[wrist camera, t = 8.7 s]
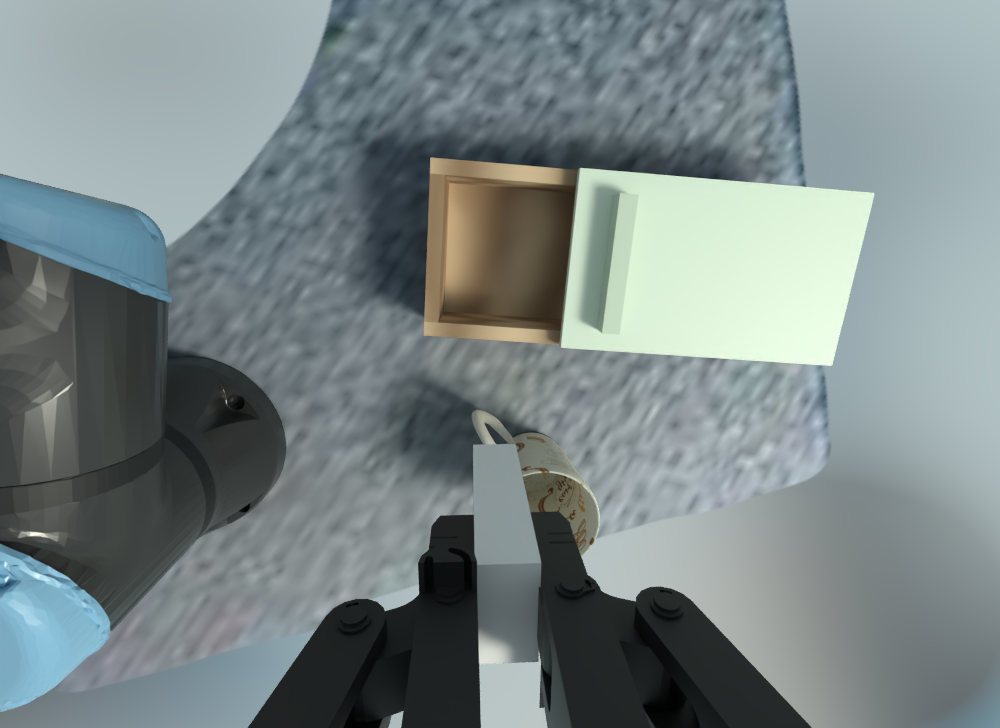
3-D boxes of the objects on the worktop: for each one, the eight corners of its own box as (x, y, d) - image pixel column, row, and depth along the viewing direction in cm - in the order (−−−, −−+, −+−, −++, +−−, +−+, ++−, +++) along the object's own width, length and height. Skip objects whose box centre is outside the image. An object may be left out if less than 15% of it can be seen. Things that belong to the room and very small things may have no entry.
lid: (559, 345, 36) (564, 352, 34) (577, 169, 33) (585, 164, 31) (824, 363, 37) (847, 371, 35) (865, 194, 34) (894, 190, 32)
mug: (523, 519, 47) (534, 592, 37) (435, 425, 44) (421, 477, 35) (593, 466, 46) (623, 528, 36) (506, 366, 43) (513, 404, 34)
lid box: (432, 320, 42) (423, 335, 36) (438, 169, 39) (430, 157, 33) (664, 336, 43) (694, 353, 37) (687, 190, 40) (724, 182, 34)
